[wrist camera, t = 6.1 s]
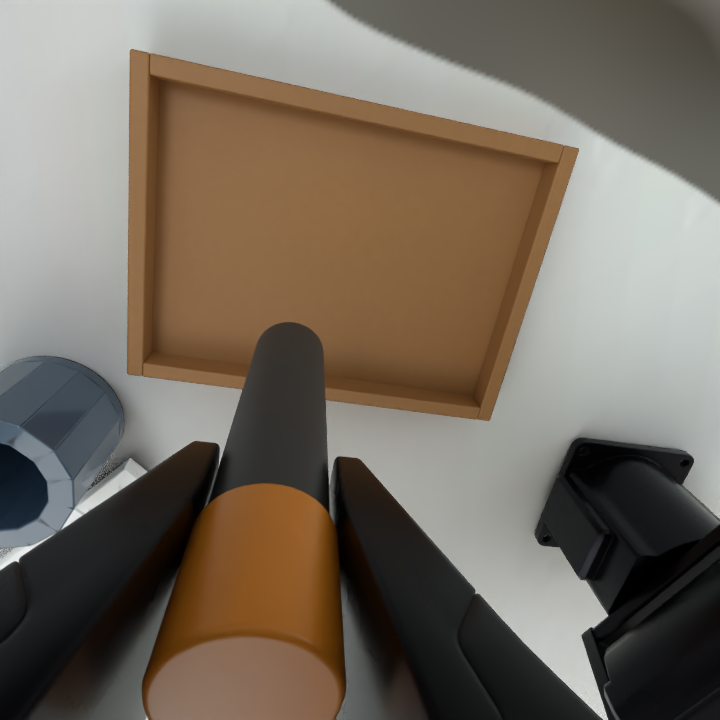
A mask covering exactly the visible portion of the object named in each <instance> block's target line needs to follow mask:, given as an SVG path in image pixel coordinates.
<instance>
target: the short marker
mask: <svg viewBox="0 0 720 720" xmlns="http://www.w3.org/2000/svg"><path fill="white" fill-rule="evenodd" d="M141 691H142V702H143V707H144V711H145V714H146V716H147V718H148V720H335V719H336V717H337V715H338V714H339V712H340V709H341V707H342V704H343V701H344V698H345V694H346V668H345V651H344V633H343V616H342V598H341V581H340V563H339V546H338V534H337V529H336V526H335V524H334V521H333V519H332V518H331V516H330V503H329V477H328V451H327V425H326V399H325V373H324V350H323V346H322V343H321V341H320V339H319V337H318V336H317V335H316V334H315V332H313V331H312V330H311V329H310V328H308V327H306V326H304V325H302V324H299V323H295V322H283V323H279V324H275V325H273V326H271V327H270V328H268V329H267V330H266V331H264V333H263V334H262V335H261V336H260V338H259V340H258V342H257V344H256V348H255V351H254V354H253V357H252V361H251V364H250V367H249V371H248V374H247V377H246V380H245V384H244V387H243V390H242V393H241V397H240V400H239V403H238V406H237V410H236V413H235V416H234V420H233V423H232V426H231V429H230V433H229V436H228V439H227V442H226V446H225V449H224V452H223V455H222V459H221V462H220V465H219V469H218V472H217V475H216V478H215V482H214V485H213V488H212V491H211V495H210V498H209V501H208V504H207V506H206V507H205V508H204V509H203V510H202V511H201V513H200V514H199V515H198V517H197V519H196V520H195V522H194V525H193V528H192V531H191V534H190V537H189V540H188V543H187V546H186V549H185V552H184V555H183V558H182V561H181V564H180V567H179V570H178V573H177V576H176V579H175V583H174V586H173V589H172V592H171V595H170V598H169V601H168V604H167V607H166V610H165V613H164V616H163V619H162V622H161V625H160V628H159V631H158V634H157V638H156V641H155V644H154V647H153V650H152V653H151V656H150V659H149V662H148V665H147V668H146V671H145V674H144V677H143V680H142V688H141Z"/></svg>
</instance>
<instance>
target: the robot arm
mask: <svg viewBox="0 0 720 720" xmlns="http://www.w3.org/2000/svg"><path fill="white" fill-rule="evenodd" d="M582 447H585V448H584V449H583V450H581V451H579V450H580V449H581V448H582ZM219 453H220V448H219V445H218V444H216V443H210V442H200V441H194V442H192V443H190V444H189V445H187V446H186V447H184V448H183V449H181V450H180V451H178V452H177V453H175V454H174V455H172V456H171V457H169V458H168V459H166V460H165V461H163V462H162V463H160V464H159V465H157V466H156V467H154V468H153V469H151V470H150V471H148V472H147V473H145V474H144V475H142V476H141V477H139V478H138V479H136V480H135V481H133V482H132V483H130V484H129V485H127V486H126V487H124V488H123V489H121V490H120V491H118V492H117V493H115V494H114V495H112V496H111V497H109V498H108V499H106V500H105V501H103V502H102V503H100V504H99V505H97V506H96V507H94V508H93V509H91V510H90V511H88V512H87V513H85V514H84V515H82V516H81V517H79V518H78V519H76V520H75V521H73V522H72V523H70V524H69V525H67V526H66V527H64V528H63V529H61V530H60V531H59V532H57V533H56V534H54V535H53V536H51V537H50V538H48V539H47V540H45V541H44V542H42V543H41V544H39V545H38V546H36V547H35V548H33V549H32V550H30V551H29V552H27V553H26V554H24V555H23V556H21V557H20V558H19V562H17V561H14V562H12V563H10V564H9V565H7V566H6V567H4V568H3V569H1V570H0V720H145V719H146V714H145V711H144V707H143V702H142V691H141V688H142V680H143V677H144V674H145V671H146V668H147V665H148V662H149V659H150V656H151V653H152V650H153V647H154V644H155V641H156V638H157V634H158V631H159V628H160V625H161V622H162V619H163V616H164V613H165V610H166V607H167V604H168V601H169V598H170V595H171V592H172V589H173V586H174V583H175V579H176V576H177V573H178V570H179V567H180V564H181V561H182V558H183V555H184V552H185V549H186V546H187V543H188V540H189V537H190V534H191V531H192V528H193V525H194V522H195V520H196V519H197V517H198V515H199V514H200V513H201V511H202V510H203V509H204V508H205V507H206V506H207V504H208V501H209V498H210V495H211V491H212V488H213V485H214V482H215V478H216V475H217V472H218V466H219ZM693 463H694V459H693V457H692V456H691V455H689V454H688V453H687V452H686V451H682V450H674V449H666V448H659V447H651V446H643V445H635V444H627V443H619V442H612V441H604V440H596V439H588V438H579V439H576V440H575V441H574V442H573V443H572V444H571V446H570V449H569V451H568V454H567V456H566V458H565V461H564V463H563V466H562V468H561V471H560V473H559V475H558V478H557V479H556V481H555V483H554V486H553V488H552V491H551V493H550V496H549V498H548V501H547V503H546V505H545V508H544V510H543V513H542V515H541V519H540V522H539V524H538V526H537V529H536V531H535V538H536V539H537V541H538V543H539V544H540V545H543V546H551V547H560V548H561V550H562V551H563V553H564V555H565V556H566V558H567V560H568V561H569V563H570V565H571V566H572V568H573V569H574V571H575V573H576V574H577V576H578V577H579V578H580V580H586V581H587V582H588V584H589V585H590V587H591V589H592V590H593V592H594V593H595V595H596V597H597V598H598V600H599V601H600V603H601V605H602V606H603V608H604V609H605V611H606V613H607V614H608V617H606V618H605V619H604V620H603V621H602V622H600V623H599V624H598V625H597V626H596V627H594V628H592V627H591V628H589V629H588V630H587V631H586V632H585V633H583V634H582V639H583V642H584V645H585V648H586V652H587V655H588V658H589V662H590V665H591V668H592V671H593V674H594V677H595V680H596V683H597V686H598V689H599V692H600V695H601V698H602V701H603V704H604V708H605V711H606V714H607V717H608V720H720V519H719V518H718V517H717V516H716V515H714V514H713V513H712V512H711V511H710V510H709V509H708V508H707V507H706V506H705V505H704V504H703V503H701V502H700V501H699V500H698V499H697V498H696V497H695V496H694V495H693V494H692V493H691V492H689V491H688V490H687V489H686V488H685V487H684V486H683V485H682V484H683V482H684V480H685V478H686V477H687V475H688V473H689V471H690V469H691V467H692V465H693ZM329 503H330V516H331V518H332V519H333V521H334V524H335V526H336V529H337V534H338V546H339V563H340V581H341V598H342V616H343V633H344V651H345V668H346V694H345V698H344V701H343V704H342V707H341V709H340V712H339V714H338V715H337V717H336V719H335V720H603V719H602V718H600V717H599V716H598V715H597V714H596V713H595V712H594V711H593V710H592V709H591V708H590V707H589V706H588V705H587V704H586V703H585V702H584V701H583V700H582V699H581V698H580V697H579V696H577V695H576V694H575V693H574V692H573V691H572V690H571V689H570V688H569V687H568V686H567V685H566V684H565V683H564V682H563V681H562V680H561V679H560V678H559V677H558V676H557V675H556V674H555V673H554V672H553V671H552V670H551V669H550V668H549V667H548V666H547V665H546V664H545V663H544V662H543V661H542V660H540V659H539V658H538V657H537V656H536V655H535V654H534V653H533V652H532V651H531V650H530V649H529V648H528V647H527V646H526V645H525V644H524V643H523V642H522V640H521V639H520V638H519V637H518V636H517V635H516V634H515V633H514V632H513V631H512V630H511V629H510V627H509V626H508V625H507V624H506V623H505V622H504V621H503V620H502V619H501V618H500V617H499V616H498V615H497V613H496V612H495V611H494V610H493V609H492V608H491V607H490V606H489V604H488V603H487V602H486V601H485V600H484V599H483V598H482V597H481V595H480V594H478V593H477V594H475V589H474V588H473V587H472V585H471V584H470V583H469V582H468V581H467V580H466V579H465V578H464V576H463V575H462V574H461V573H460V572H459V571H458V570H457V568H456V567H455V566H454V565H453V564H452V563H451V562H450V561H449V559H448V558H447V557H446V556H445V555H444V554H443V553H442V552H441V550H440V549H439V548H438V547H437V546H436V545H435V544H434V542H433V541H432V540H431V539H430V538H429V537H428V536H427V535H426V533H425V532H424V531H423V530H422V529H421V528H420V527H419V525H418V524H417V523H416V522H415V521H414V520H413V519H412V518H411V516H410V515H409V514H408V513H407V512H406V511H405V510H404V508H403V507H402V506H401V505H400V504H399V503H398V502H397V501H396V499H395V498H394V497H393V496H392V495H391V494H390V493H389V491H388V490H387V489H386V488H385V487H384V486H383V485H382V484H381V482H380V481H379V480H378V479H377V478H376V477H375V476H374V475H373V473H372V472H371V471H370V470H369V469H368V468H367V467H366V465H365V464H364V463H363V462H362V461H361V460H360V459H358V458H351V457H341V456H340V457H337V458H336V459H335V461H334V465H333V470H332V476H331V481H330V486H329ZM545 535H547V536H545ZM544 536H545V537H544Z"/></svg>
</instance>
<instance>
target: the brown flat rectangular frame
mask: <svg viewBox="0 0 720 720" xmlns="http://www.w3.org/2000/svg"><path fill="white" fill-rule="evenodd" d="M578 152H579V149H578V148H574V147H570V146H563V145H561V144H557V143H552V142H548V141H543V140H539V139H534V138H530V137H525V136H521V135H516V134H512V133H507V132H503V131H498V130H494V129H489V128H485V127H480V126H476V125H471V124H467V123H462V122H458V121H453V120H449V119H444V118H440V117H435V116H431V115H426V114H422V113H417V112H413V111H408V110H404V109H399V108H395V107H390V106H386V105H381V104H377V103H372V102H368V101H363V100H359V99H354V98H350V97H345V96H341V95H336V94H332V93H327V92H323V91H318V90H314V89H309V88H305V87H300V86H296V85H291V84H287V83H282V82H278V81H273V80H269V79H264V78H260V77H255V76H251V75H246V74H242V73H237V72H233V71H228V70H224V69H219V68H215V67H210V66H206V65H201V64H197V63H192V62H188V61H183V60H179V59H174V58H170V57H165V56H161V55H156V54H149V53H147V52H143V51H138V50H134V49H131V50H130V102H129V219H128V336H127V374H130V375H137V376H144V377H151V378H159V379H167V380H175V381H182V382H190V383H198V384H206V385H213V386H221V387H229V388H237V389H243V387H244V384H245V380H246V377H247V374H248V371H249V367H250V364H251V361H252V357H253V354H254V351H255V348H256V344H257V342H258V340H259V338H260V336H261V335H262V334H263V333H264V331H266V330H267V329H268V328H270V327H271V326H273V325H275V324H279V323H283V322H295V323H299V324H302V325H304V326H306V327H308V328H310V329H311V330H312V331H313V332H315V334H316V335H317V336H318V337H319V339H320V341H321V343H322V346H323V350H324V373H325V399H326V400H329V401H337V402H345V403H353V404H360V405H368V406H376V407H383V408H391V409H399V410H407V411H414V412H422V413H430V414H438V415H445V416H453V417H461V418H469V419H478V420H485V421H489V420H490V418H491V415H492V412H493V409H494V406H495V403H496V400H497V397H498V394H499V391H500V388H501V385H502V382H503V379H504V376H505V373H506V369H507V366H508V363H509V360H510V357H511V354H512V351H513V348H514V345H515V342H516V339H517V336H518V333H519V330H520V327H521V324H522V321H523V318H524V315H525V312H526V309H527V306H528V303H529V300H530V297H531V294H532V291H533V288H534V285H535V282H536V279H537V276H538V273H539V270H540V267H541V264H542V261H543V258H544V255H545V252H546V249H547V246H548V242H549V239H550V236H551V233H552V230H553V227H554V224H555V221H556V218H557V215H558V212H559V209H560V206H561V203H562V200H563V197H564V194H565V191H566V188H567V185H568V182H569V179H570V176H571V173H572V170H573V167H574V164H575V161H576V158H577V155H578Z"/></svg>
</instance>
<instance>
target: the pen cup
mask: <svg viewBox="0 0 720 720" xmlns="http://www.w3.org/2000/svg"><path fill="white" fill-rule="evenodd" d="M123 429H124V416H123V411H122V407H121V405H120V402H119V400H118V398H117V396H116V395H115V393H114V392H113V390H112V389H111V388H110V386H109V385H108V384H107V383H106V382H105V381H104V380H103V379H102V378H101V377H99V376H98V375H97V374H96V373H94V372H93V371H91V370H90V369H88V368H86V367H84V366H82V365H80V364H78V363H75V362H73V361H70V360H66V359H63V358H58V357H49V356H35V357H29V358H24V359H21V360H17V361H15V362H13V363H11V364H9V365H7V366H6V367H4V368H3V369H1V370H0V549H4V548H15V547H27V546H32V545H34V544H36V543H38V542H40V541H42V540H44V539H46V538H48V537H50V536H52V535H54V534H56V533H57V532H59V531H60V530H61V529H62V528H63V526H64V525H65V523H66V522H67V520H68V519H69V517H70V516H71V514H72V513H73V511H74V510H75V508H76V507H77V505H78V504H79V502H80V501H81V499H82V498H83V496H84V495H85V493H86V492H87V490H88V489H89V487H90V486H91V484H92V483H93V481H94V480H95V479H96V477H97V476H98V474H99V473H100V471H101V470H102V468H103V467H104V465H105V464H106V462H107V461H108V459H109V457H110V456H111V454H112V453H113V451H114V450H115V448H116V447H117V445H118V444H119V442H120V439H121V437H122V434H123Z"/></svg>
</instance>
